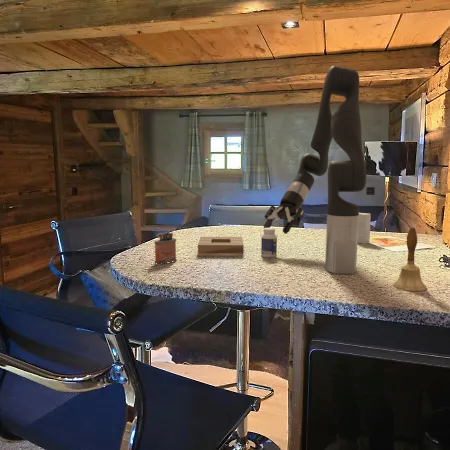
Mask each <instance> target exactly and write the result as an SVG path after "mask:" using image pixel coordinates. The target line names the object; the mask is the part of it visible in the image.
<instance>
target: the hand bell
mask: <svg viewBox="0 0 450 450" xmlns="http://www.w3.org/2000/svg"><path fill="white" fill-rule="evenodd" d="M417 244H418V234H417V231H416V228H415V227H410V228H409V230H408V232H407V236H406V247H407V263H406V264H405V265H402V266H401V269H400V273H399V277H398V278H397V280H395V281H394V282H393V284H392V286H393V287H394V288H395V287H396V289H398V288H399V289H398V290H401V289H403V290H402V291H406V290H407V292H423V291H425V290H427V289H428V288H427V285H426V284H425V283H424V281H423V280H422V278H421V277H422V276H421V268H420V267H419V266H417V265H416V264H415V250H416V248H417Z"/></svg>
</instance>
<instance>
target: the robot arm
mask: <svg viewBox="0 0 450 450" xmlns="http://www.w3.org/2000/svg"><path fill="white" fill-rule="evenodd" d="M324 78H325V79H324V83H323V85H322V86H323V87H322V91H321V97H320V103H319V108H318V115H317V120H316V125H315V128H314V131H313V135H312V139H311V141H310V148H311V149H312V150H313V151H315V152H316V153H318V155H319V156H318V155H316V154H314V153H313V154H312V153H304V155H302V157H301V159H300V164H299V168H298V171H297V174H296V176H295V178H294V179H293V181H292V183H291V184H290V185H289V187H288V188H287V189H286V191H285V193H284V194H283V196H282V198H281V200H280V202H279V203H280V204H279V206H275V205H274V204H273V205H271V206H270V207H269V209H268V210H267V212H266V213H265V215H264V219H265V220H266V221H265V223H264V225H263V229H264V228H272V227H271V226H272V225H273V223H274V222H278V221H279V220H285V221H286V220H287V222H286V223H285V225H284V227H283V228H282V232H283V233H284V234H286V235H287V234H288V233H289V232H290V230H291V229H292V227H293V226H298V225H299V224H300V223H301V221H302V218H303V217H304V215H305V211H304V210H303V209H302V205H303V204H304V203H305V200H306V198H307V196H308V195H309V192H310V191H311V189H312V187H313V185H314V183H315V178H314V176H317V177H322V176H324V175H326V172H327V211H326V212H327V213H326V230H325V231H326V233H325V235H326V236H325V264H324V269H325V271H327V272H329V273H333V274H335V275H336V274H340V275H341V274H343V275H345V274H347V275H348V274H350V275H352V274H353V275H354V274H356V272H357V261H358V259H357V258H358V243H357V242H358V222H359V213H360V207H359V206H358V204H356V203H353V202H349V201H347V200H345V199H344V198H342V197H341V196H340V194H339V193H340V192H341V193H343V192H345V193H350V192H351V193H353V192H354V193H357V192H361V191H363V190H364V189H365V187H366V184H367V169H366V163H365V156H364V151H363V144H362V143H363V141H362V123H361V122H362V121H361V112H360V75H359V72H358V71H357V70H355V69H353V68H348V67H343V66H337V65H332V66H331V67H329V69H328V71H327V72H326V75H325V77H324ZM332 95H334V96H335V95H336V96H339V97H344V98H345V100H344V101H343V102H342V103H341V104H340V105H339V106H338V107H337V108H336V109H335V110H334V111H333V113H332V110H331V99H332ZM332 140H334V142H335V143H336V144H337V145H338V146H339V148H341V149H342V150H343V152H344V153H345V154H346V155H347V156H348V158H349V160H332V161H330V163H329V151H330V146H331V143H332Z"/></svg>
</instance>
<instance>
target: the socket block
mask: <svg viewBox="0 0 450 450" xmlns="http://www.w3.org/2000/svg"><path fill="white" fill-rule="evenodd" d="M244 248H245V247H244V241H243V237H242V236H200V238H199V241H198V243H197V256H198V257H244V254H245V253H244V251H245V249H244Z"/></svg>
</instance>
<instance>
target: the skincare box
mask: <svg viewBox="0 0 450 450" xmlns="http://www.w3.org/2000/svg"><path fill="white" fill-rule="evenodd" d="M371 215H372V213H364V212H359V222H358V242H357V244H363V245H365V244H369V243H370V241H371Z"/></svg>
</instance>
